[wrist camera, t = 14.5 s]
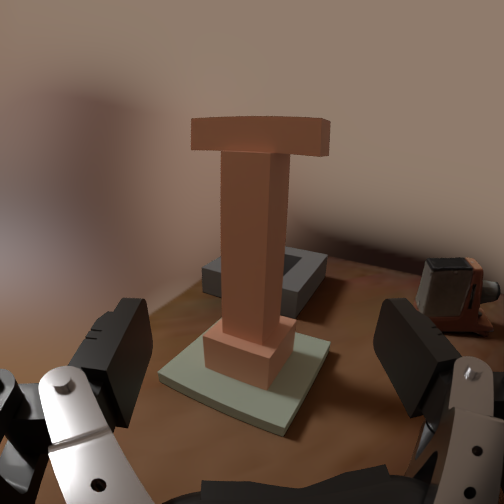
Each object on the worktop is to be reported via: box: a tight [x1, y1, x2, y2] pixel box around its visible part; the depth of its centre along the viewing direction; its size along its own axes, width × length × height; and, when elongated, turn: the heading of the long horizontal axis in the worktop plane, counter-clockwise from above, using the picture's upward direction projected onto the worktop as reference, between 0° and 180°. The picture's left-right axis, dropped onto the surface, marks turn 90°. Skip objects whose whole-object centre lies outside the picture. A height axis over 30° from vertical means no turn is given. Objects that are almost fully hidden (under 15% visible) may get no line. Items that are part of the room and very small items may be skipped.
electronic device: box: [413, 257, 500, 337], centre depth 27 cm, size 4×10×8 cm, turn 73°
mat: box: [158, 320, 331, 437], centre depth 23 cm, size 10×10×1 cm
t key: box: [191, 116, 330, 391], centre depth 20 cm, size 8×5×17 cm, turn 63°
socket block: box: [202, 246, 328, 319], centre depth 36 cm, size 11×11×3 cm
